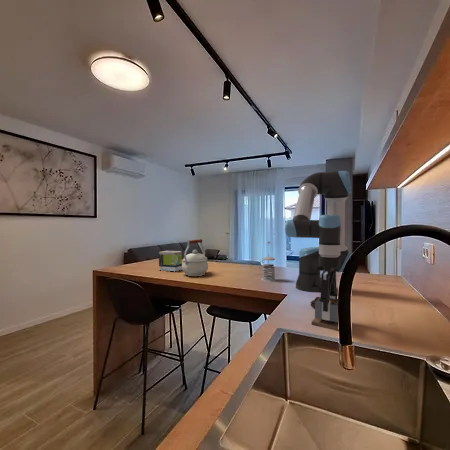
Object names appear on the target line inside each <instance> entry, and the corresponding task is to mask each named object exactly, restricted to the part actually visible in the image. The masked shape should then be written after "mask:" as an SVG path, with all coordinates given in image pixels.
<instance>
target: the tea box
mask: <svg viewBox="0 0 450 450" xmlns="http://www.w3.org/2000/svg"><path fill="white" fill-rule="evenodd" d="M182 264H183V252H182V251H181V250H164V251H163V250H162V251H159V252H158V270H163V271H162V272H170V271H174V272H173V273H176V272H175V271H177V272H180V271H183V270H182ZM179 270H180V271H179Z"/></svg>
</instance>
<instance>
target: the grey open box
mask: <svg viewBox="0 0 450 450" xmlns="http://www.w3.org/2000/svg"><path fill="white" fill-rule="evenodd" d="M319 297H320V298H319V299H317V300H316V301H315V308H314V319H315V318H319V319H322V302H320V299H321V296H319ZM325 299H326V298H325ZM338 299H339V298H338ZM338 299H333V298H330V300H329V301H330V321H334V322H338Z"/></svg>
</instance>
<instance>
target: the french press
mask: <svg viewBox="0 0 450 450" xmlns="http://www.w3.org/2000/svg"><path fill="white" fill-rule="evenodd" d="M267 244H268V245H270V244H271V241H267ZM275 260H276V258H274V257H273V256H270V255H268V256H264V257H263V258H262V260H261V261H260V262H259V263H258V265H259V267H258V269H259V270H260V271H261V272H262V278H261V279H260V280H261V281H262V280H263V281H262V282H266V281H268V282H269V283H271V282H277V279H276V277H275V270H276V269H275V265H274V264H272V263H271V264H270V261H275ZM265 261H268V262H267V263H265ZM262 263H263V267H262V266H261V264H262Z"/></svg>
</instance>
